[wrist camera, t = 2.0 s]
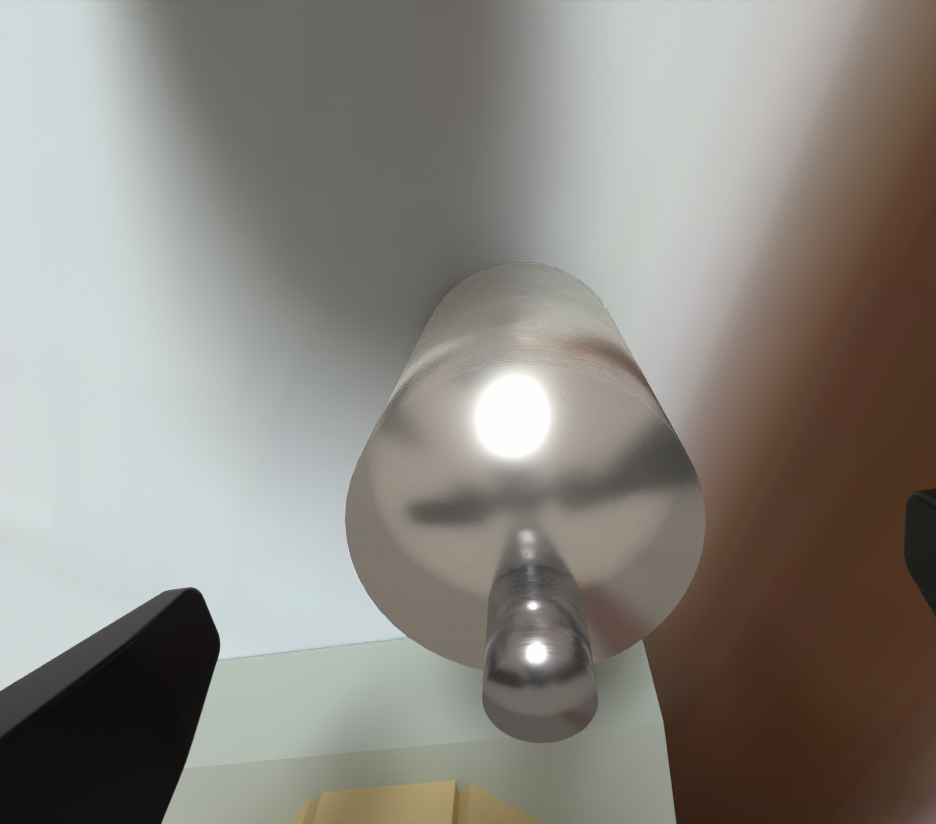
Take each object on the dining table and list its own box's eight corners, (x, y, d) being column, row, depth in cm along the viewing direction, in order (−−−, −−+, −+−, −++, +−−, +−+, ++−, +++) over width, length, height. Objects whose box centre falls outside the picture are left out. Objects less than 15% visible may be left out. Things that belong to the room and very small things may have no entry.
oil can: (607, 243, 16) (734, 383, 6) (631, 436, 17) (758, 759, 8) (400, 283, 16) (251, 460, 7) (443, 465, 18) (368, 793, 9)
